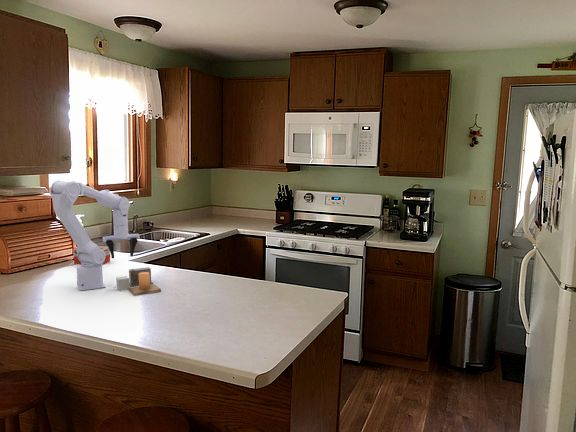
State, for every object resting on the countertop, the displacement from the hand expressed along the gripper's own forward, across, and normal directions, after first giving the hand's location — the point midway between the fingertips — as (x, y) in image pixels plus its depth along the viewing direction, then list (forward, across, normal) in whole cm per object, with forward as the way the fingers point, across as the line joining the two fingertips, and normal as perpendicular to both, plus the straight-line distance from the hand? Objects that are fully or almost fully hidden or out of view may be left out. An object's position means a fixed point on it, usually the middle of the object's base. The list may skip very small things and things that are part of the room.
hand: (122, 256), depth 201 cm
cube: (+10, +4, +16) cm, 19 cm away
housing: (+9, -4, +13) cm, 17 cm away
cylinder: (+8, -3, +24) cm, 26 cm away
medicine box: (+10, +7, -40) cm, 42 cm away
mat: (+9, -3, +24) cm, 26 cm away
